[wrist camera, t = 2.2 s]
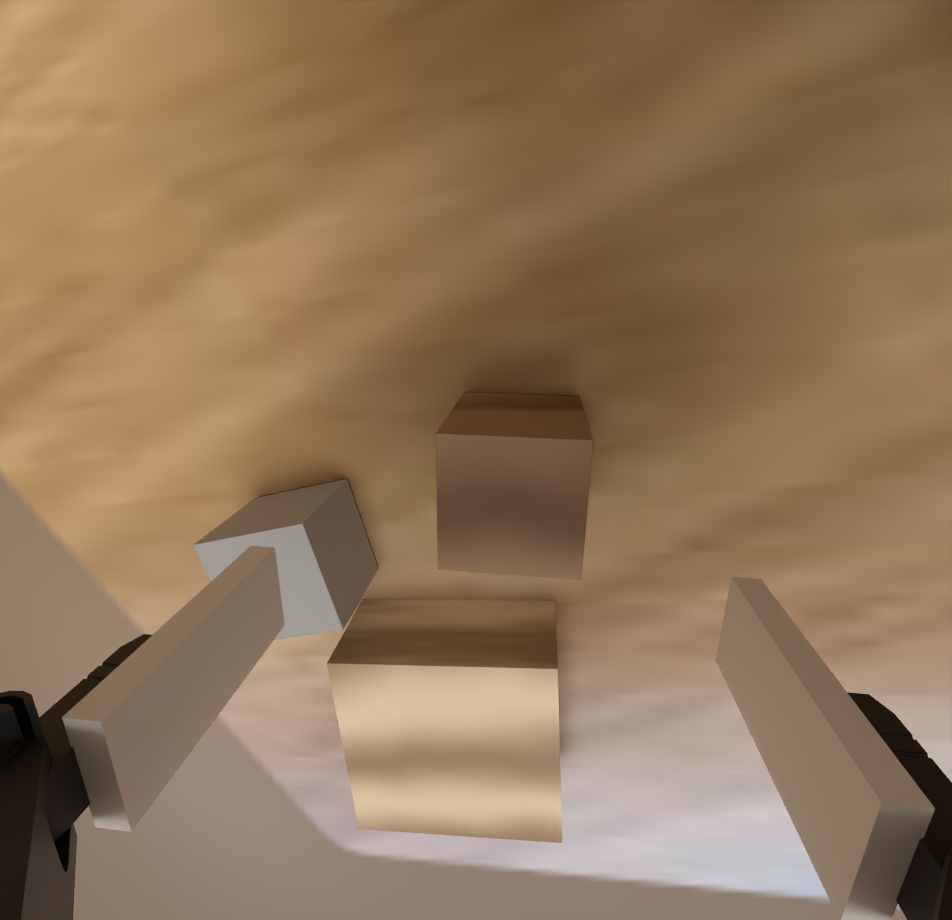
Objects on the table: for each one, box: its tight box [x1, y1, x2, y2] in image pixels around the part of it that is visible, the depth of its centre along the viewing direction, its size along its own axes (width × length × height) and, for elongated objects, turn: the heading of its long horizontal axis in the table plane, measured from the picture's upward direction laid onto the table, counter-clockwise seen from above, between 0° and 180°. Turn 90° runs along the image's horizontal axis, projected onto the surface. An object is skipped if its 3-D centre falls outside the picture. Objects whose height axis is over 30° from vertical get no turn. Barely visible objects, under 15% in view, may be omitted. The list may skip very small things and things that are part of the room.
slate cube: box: [194, 479, 378, 640], centre depth 29 cm, size 6×6×6 cm
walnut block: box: [436, 392, 593, 580], centre depth 25 cm, size 6×6×8 cm
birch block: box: [327, 599, 562, 843], centre depth 31 cm, size 12×12×6 cm
